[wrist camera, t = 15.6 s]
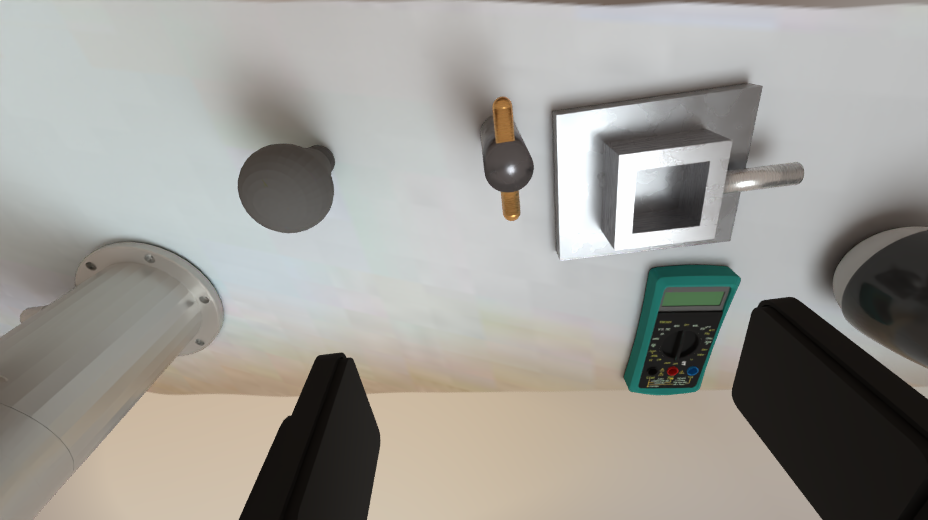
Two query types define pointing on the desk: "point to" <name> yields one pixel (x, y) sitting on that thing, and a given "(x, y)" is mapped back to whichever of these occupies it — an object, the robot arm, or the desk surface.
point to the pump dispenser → (888, 290)
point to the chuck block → (656, 171)
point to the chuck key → (505, 157)
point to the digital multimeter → (679, 327)
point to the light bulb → (287, 186)
